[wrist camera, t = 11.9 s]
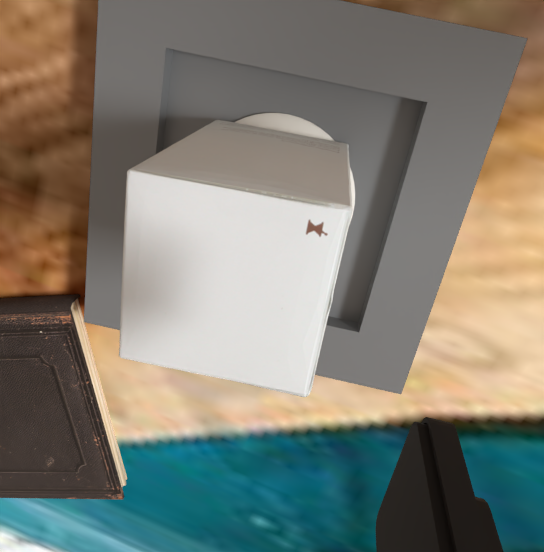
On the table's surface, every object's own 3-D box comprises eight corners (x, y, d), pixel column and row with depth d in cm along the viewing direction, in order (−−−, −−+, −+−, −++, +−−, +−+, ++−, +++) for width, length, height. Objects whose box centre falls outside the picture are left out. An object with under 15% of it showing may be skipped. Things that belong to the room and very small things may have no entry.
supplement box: (213, 115, 27) (122, 158, 16) (352, 142, 27) (361, 206, 15) (198, 244, 30) (111, 361, 19) (322, 270, 30) (312, 404, 18)
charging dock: (513, 39, 25) (527, 38, 23) (397, 375, 33) (401, 394, 31) (117, -41, 26) (100, -49, 24) (97, 307, 34) (83, 321, 32)
